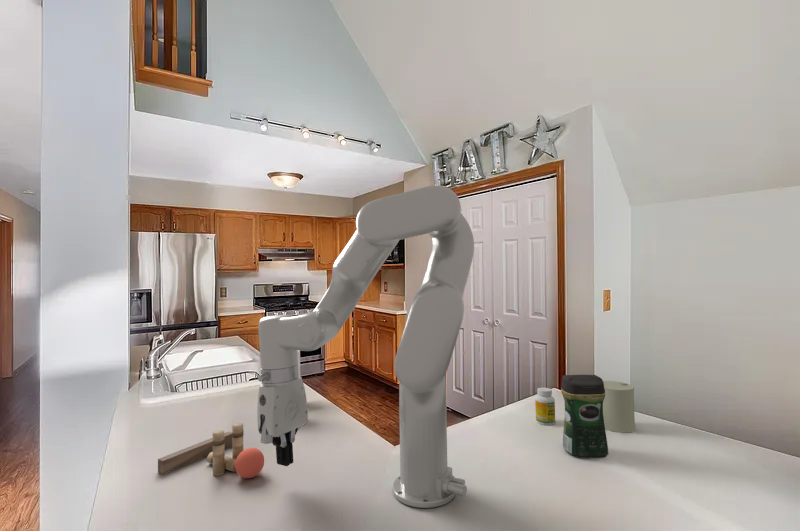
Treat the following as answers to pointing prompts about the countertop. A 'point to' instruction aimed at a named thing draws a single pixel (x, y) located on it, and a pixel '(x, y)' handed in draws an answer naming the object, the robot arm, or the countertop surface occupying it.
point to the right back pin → (237, 439)
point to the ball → (249, 463)
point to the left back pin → (218, 453)
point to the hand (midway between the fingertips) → (285, 463)
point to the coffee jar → (584, 416)
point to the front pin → (228, 462)
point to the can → (619, 407)
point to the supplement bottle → (545, 407)
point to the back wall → (189, 454)
